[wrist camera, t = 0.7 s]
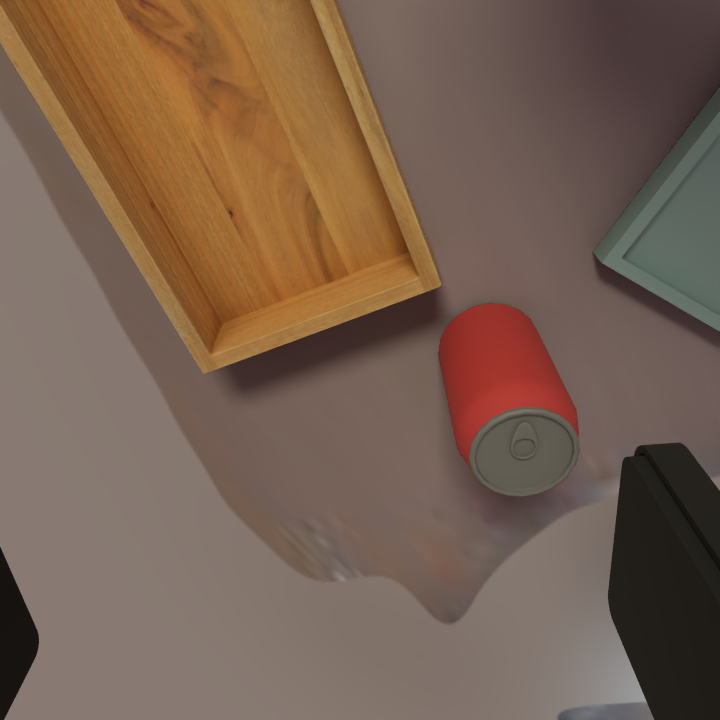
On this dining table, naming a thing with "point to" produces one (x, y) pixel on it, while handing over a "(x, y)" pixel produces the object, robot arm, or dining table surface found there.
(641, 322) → the dining table surface
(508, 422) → the beer can
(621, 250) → the slate tray
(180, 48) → the tray
